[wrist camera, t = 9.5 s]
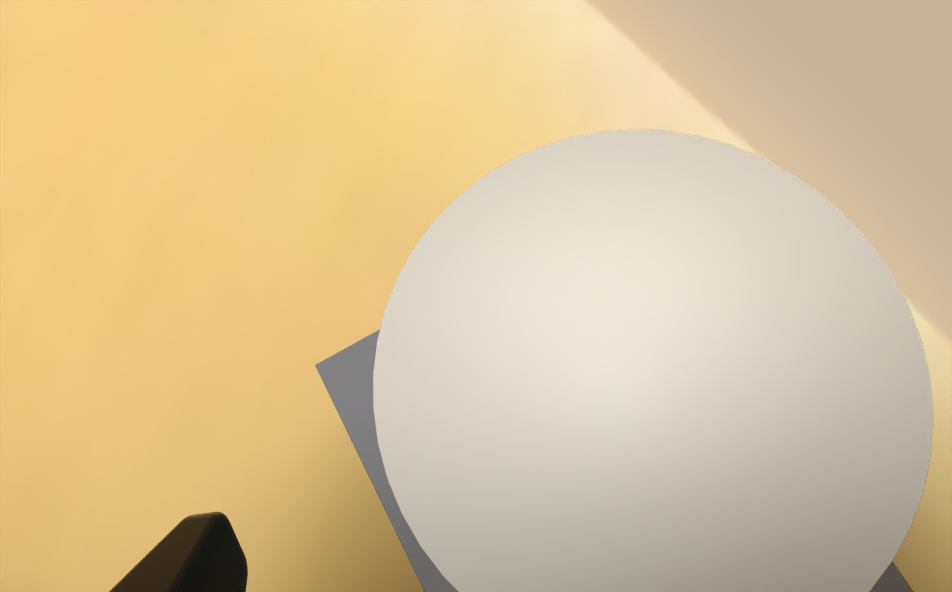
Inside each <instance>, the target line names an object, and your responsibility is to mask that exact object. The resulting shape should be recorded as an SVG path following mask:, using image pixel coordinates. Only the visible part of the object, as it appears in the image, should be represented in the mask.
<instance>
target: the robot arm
mask: <svg viewBox="0 0 952 592" xmlns="http://www.w3.org/2000/svg"><path fill="white" fill-rule="evenodd" d="M247 576H248V569H247V562H246V558H245V555H244V553H243V551H242V548H241V546H240V544H239V542H238V539H237V537H236V535H235V533H234V530H233V528H232V526H231V524H230V522H229V520H228V518H227V516H226V515H224V514H223V513H221V512H211V513H203V514H196V515H191V516H188V517H186V518H185V519H183V520H182V521H181V522H180V523H179V524H178V525H177V526H176V527H175V528H174V529H173V530H172V531H171V532H170V533H169V534H168V535H167V536H166V537H164V538H163V539H162V540H161V541H160V542H159V543H158V544H157V545H156V546H155V547H154V548H153V549H152V550H151V551H150V552H149V553H148V554H147V555H146V556H145V557H144V558H143V559H142V560H141V561H140V562H139V563H138V564H137V565H136V566H135V567H134V568H133V569H132V570H131V571H130V572H129V573H128V574H127V575H126V576H125V577H124V578H123V579H122V580H121V581H120V582H119V583H118V584H116V585H115V586H114V587H113V588H112V589H111V590H110V591H109V592H246V585H247Z"/></svg>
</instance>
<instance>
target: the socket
mask: <svg viewBox="0 0 952 592" xmlns="http://www.w3.org/2000/svg"><path fill="white" fill-rule="evenodd" d="M379 332H380V330H378V331H376V332H375V333H373V334H371V335H369V336H367V337H366V338H364V339H362V340H360V341H358V342H356V343H355V344H353V345H351V346H349V347H347V348H346V349H344V350H342V351H340V352H338V353H336V354H335V355H333V356H331V357H329V358H327V359H325V360H324V361H322V362H320V363H318V364H316V365H315V366H316V368H317V370H318V372H319V374H320V376H321V378H322V380H323V382H324V384H325V387H326V389H327V391H328V393H329V395H330V397H331V399H332V401H333V403H334V405H335V407H336V409H337V411H338V413H339V416H340V418H341V420H342V422H343V424H344V426H345V428H346V430H347V432H348V434H349V436H350V438H351V440H352V442H353V445H354V447H355V449H356V451H357V453H358V455H359V457H360V459H361V461H362V463H363V465H364V467H365V469H366V471H367V474H368V476H369V478H370V480H371V482H372V484H373V486H374V488H375V490H376V492H377V494H378V496H379V498H380V500H381V502H382V505H383V507H384V509H385V511H386V513H387V515H388V517H389V519H390V521H391V523H392V525H393V527H394V529H395V531H396V534H397V536H398V538H399V540H400V542H401V544H402V546H403V548H404V550H405V552H406V554H407V556H408V558H409V560H410V563H411V565H412V567H413V569H414V571H415V573H416V575H417V577H418V579H419V581H420V583H421V585H422V587H423V589H424V592H458V591H457V590H456V589H455V588H454V587H453V586H452V585H451V584H450V583H449V582H448V581H447V580H446V579H445V578H444V576H443V575H442V574H441V572H440V571H439V570H438V568H437V567H436V566H435V564H434V563H433V562H432V561H431V559H430V558H429V557H428V555H427V554H426V553H425V551H424V550H423V549H422V547H421V546H420V544H419V542H418V541H417V539H416V537H415V536H414V534H413V532H412V530H411V529H410V527H409V525H408V523H407V522H406V520H405V518H404V516H403V515H402V513H401V510H400V508H399V505H398V503H397V501H396V498H395V496H394V493H393V491H392V488H391V486H390V484H389V481H388V479H387V475H386V471H385V468H384V464H383V460H382V456H381V453H380V449H379V445H378V439H377V432H376V424H375V417H374V410H373V371H374V363H375V355H376V347H377V340H378V336H379ZM869 592H913V591H912V589H911V588H910V586H909V585H908V583H907V582H906V580H905V579H904V577H903V576H902V574H901V573H900V572H899V570H898V569H897V567H896V566H895V564H894V563H893V561H892V562H891V563H890V565H889V566H888V567H887V569H886V570H885V571H884V573H883V574H882V575H881V577H880V578H879V579H878V581H877V582H876V583H875V585H874V586H873V587H872V589H871V590H870V591H869Z"/></svg>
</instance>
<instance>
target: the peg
mask: <svg viewBox="0 0 952 592" xmlns="http://www.w3.org/2000/svg"><path fill="white" fill-rule="evenodd" d="M373 410H374V417H375V424H376V432H377V439H378V445H379V449H380V453H381V456H382V460H383V464H384V468H385V471H386V475H387V479H388V481H389V484H390V486H391V488H392V491H393V493H394V496H395V498H396V501H397V503H398V505H399V508H400V510H401V513H402V515H403V516H404V518H405V520H406V522H407V523H408V525H409V527H410V529H411V530H412V532H413V534H414V536H415V537H416V539H417V541H418V542H419V544H420V546H421V547H422V549H423V550H424V551H425V553H426V554H427V555H428V557H429V558H430V559H431V561H432V562H433V563H434V564H435V566H436V567H437V568H438V570H439V571H440V572H441V574H442V575H443V576H444V578H445V579H446V580H447V581H448V582H449V583H450V584H451V585H452V586H453V587H454V588H455V589H456V590H457V591H458V592H869V591H870V590H871V589H872V587H873V586H874V585H875V583H876V582H877V581H878V579H879V578H880V577H881V575H882V574H883V573H884V571H885V570H886V569H887V567H888V566H889V565H890V563H891V562H892V561H893V559H894V557H895V555H896V553H897V551H898V549H899V548H900V546H901V544H902V542H903V540H904V538H905V536H906V535H907V533H908V531H909V529H910V527H911V525H912V522H913V519H914V516H915V514H916V511H917V508H918V505H919V502H920V499H921V497H922V494H923V491H924V487H925V482H926V477H927V472H928V467H929V461H930V456H931V447H932V428H933V407H932V396H931V384H930V376H929V371H928V367H927V362H926V358H925V353H924V349H923V345H922V341H921V338H920V335H919V333H918V330H917V327H916V324H915V322H914V319H913V316H912V313H911V311H910V308H909V306H908V304H907V302H906V300H905V298H904V296H903V294H902V292H901V290H900V288H899V286H898V285H897V283H896V281H895V279H894V277H893V275H892V273H891V272H890V270H889V269H888V268H887V266H886V265H885V263H884V262H883V260H882V259H881V257H880V256H879V254H878V253H877V252H876V250H875V249H874V247H873V246H872V244H871V243H870V242H869V241H868V240H867V239H866V238H865V236H864V235H863V234H862V233H861V232H860V231H859V230H858V229H857V227H856V226H855V225H854V224H853V223H852V222H851V221H850V219H849V218H848V217H847V216H846V215H844V214H843V213H842V212H841V211H840V210H839V209H838V208H837V207H835V206H834V205H833V204H832V203H831V202H830V201H829V200H828V199H826V198H825V197H824V196H823V195H822V194H821V193H819V192H818V191H816V190H815V189H813V188H812V187H811V186H809V185H808V184H807V183H805V182H804V181H802V180H801V179H799V178H798V177H796V176H795V175H794V174H792V173H790V172H789V171H787V170H785V169H783V168H781V167H779V166H777V165H776V164H774V163H772V162H770V161H768V160H766V159H764V158H763V157H760V156H758V155H755V154H753V153H750V152H748V151H745V150H743V149H740V148H738V147H735V146H733V145H730V144H727V143H723V142H719V141H716V140H712V139H708V138H705V137H701V136H697V135H691V134H684V133H678V132H671V131H665V130H637V129H629V130H616V131H604V132H596V133H591V134H586V135H581V136H576V137H571V138H566V139H563V140H560V141H557V142H554V143H551V144H548V145H545V146H542V147H539V148H536V149H534V150H532V151H530V152H527V153H525V154H523V155H521V156H519V157H517V158H515V159H512V160H510V161H508V162H506V163H505V164H503V165H502V166H500V167H498V168H497V169H495V170H494V171H492V172H490V173H489V174H487V175H486V176H484V177H482V178H481V179H479V180H478V181H477V182H476V183H474V184H473V185H472V186H471V187H470V188H468V189H467V190H466V191H465V192H463V193H462V194H461V195H460V196H459V197H457V198H456V199H455V200H454V201H453V202H452V203H451V204H450V205H449V206H448V207H447V208H446V209H445V210H444V211H443V213H442V214H441V215H440V216H439V217H438V218H437V219H436V220H435V221H434V222H433V223H432V225H431V226H430V227H429V229H428V230H427V231H426V233H425V234H424V235H423V237H422V238H421V239H420V241H419V242H418V244H417V245H416V246H415V248H414V249H413V251H412V253H411V254H410V256H409V258H408V260H407V262H406V263H405V265H404V267H403V269H402V271H401V272H400V274H399V276H398V278H397V281H396V283H395V286H394V288H393V291H392V293H391V296H390V298H389V301H388V303H387V306H386V309H385V312H384V316H383V320H382V324H381V328H380V332H379V336H378V340H377V347H376V355H375V363H374V371H373Z"/></svg>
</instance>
